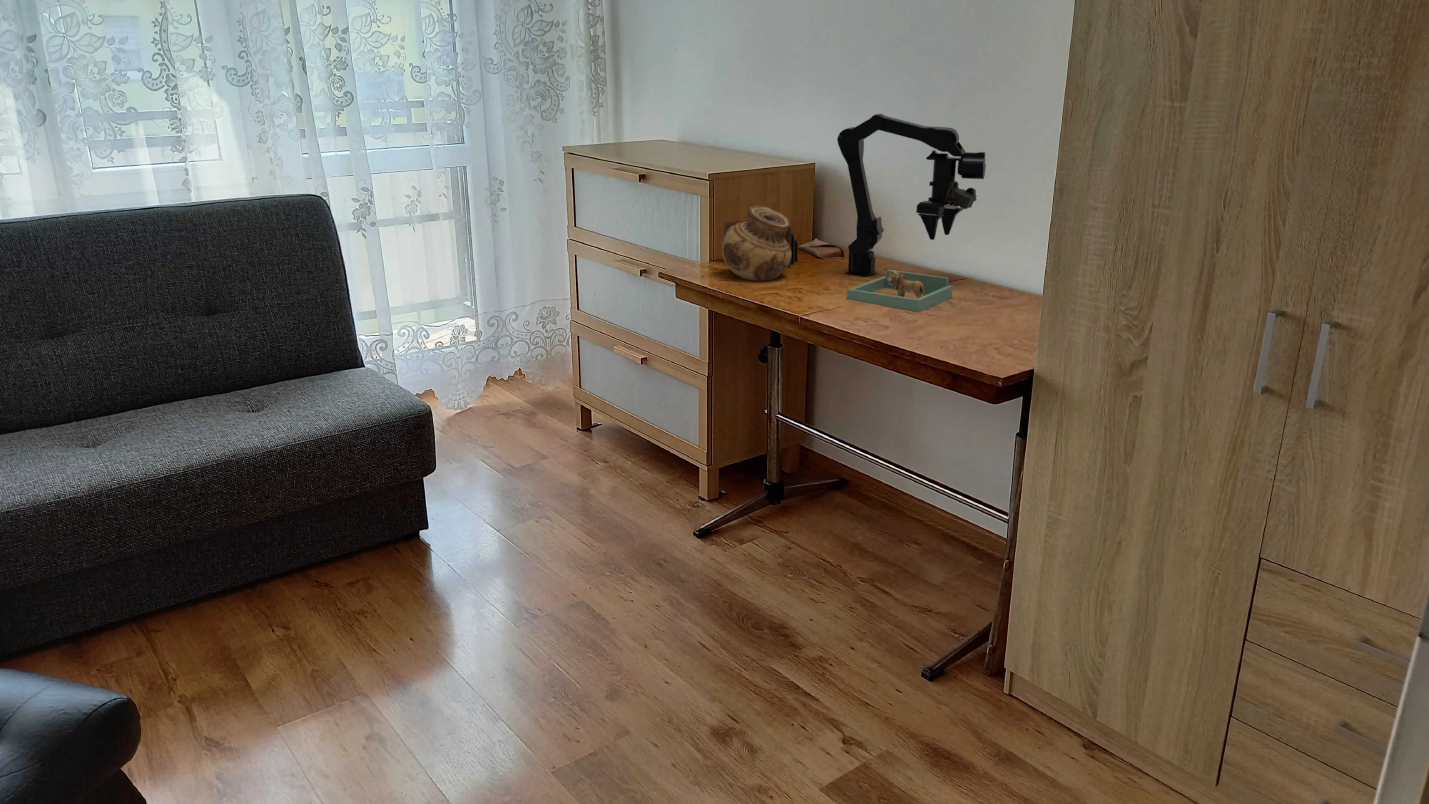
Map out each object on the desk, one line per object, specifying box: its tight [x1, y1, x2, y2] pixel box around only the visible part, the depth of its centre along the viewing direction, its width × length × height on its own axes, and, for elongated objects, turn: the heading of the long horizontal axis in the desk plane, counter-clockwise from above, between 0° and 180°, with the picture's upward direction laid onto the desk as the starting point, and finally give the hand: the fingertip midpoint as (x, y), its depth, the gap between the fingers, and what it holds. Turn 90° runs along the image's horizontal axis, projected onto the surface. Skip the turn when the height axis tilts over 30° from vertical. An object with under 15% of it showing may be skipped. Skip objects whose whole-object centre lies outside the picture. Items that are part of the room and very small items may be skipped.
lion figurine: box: [887, 269, 926, 299], centre depth 251 cm, size 12×4×7 cm, turn 52°
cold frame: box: [846, 269, 954, 313], centre depth 253 cm, size 19×19×5 cm
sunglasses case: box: [798, 237, 845, 260], centre depth 307 cm, size 18×7×7 cm
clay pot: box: [721, 205, 792, 281], centre depth 272 cm, size 19×19×20 cm
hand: (939, 237), depth 270 cm, fingers open, 9 cm apart
